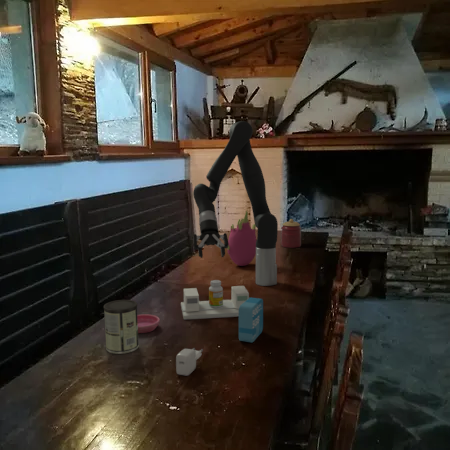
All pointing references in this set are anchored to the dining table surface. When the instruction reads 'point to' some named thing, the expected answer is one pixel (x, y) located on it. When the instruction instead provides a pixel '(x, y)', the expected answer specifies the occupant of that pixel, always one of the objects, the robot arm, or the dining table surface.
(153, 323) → the saucer
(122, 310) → the coffee can
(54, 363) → the dining table surface
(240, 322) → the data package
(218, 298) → the supplement bottle
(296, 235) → the canister
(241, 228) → the pink dragon fruit
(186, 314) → the rail panel
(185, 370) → the power adapter
